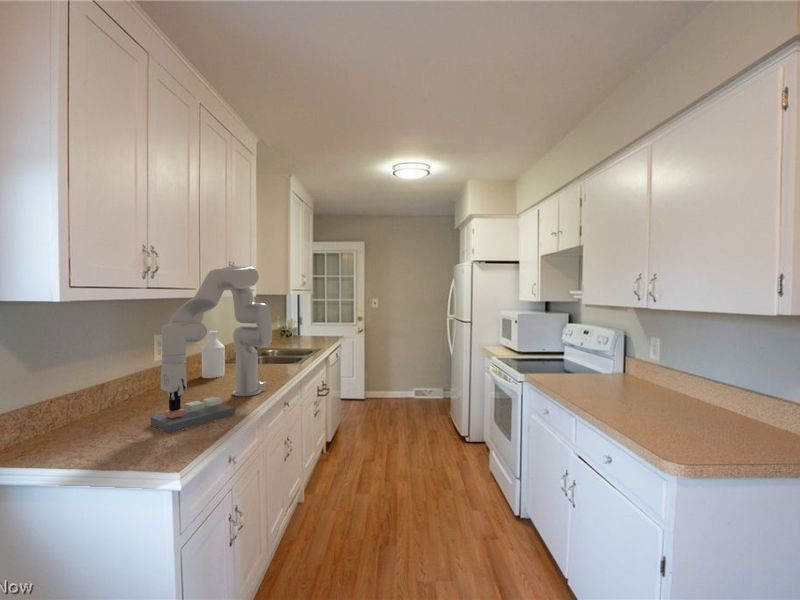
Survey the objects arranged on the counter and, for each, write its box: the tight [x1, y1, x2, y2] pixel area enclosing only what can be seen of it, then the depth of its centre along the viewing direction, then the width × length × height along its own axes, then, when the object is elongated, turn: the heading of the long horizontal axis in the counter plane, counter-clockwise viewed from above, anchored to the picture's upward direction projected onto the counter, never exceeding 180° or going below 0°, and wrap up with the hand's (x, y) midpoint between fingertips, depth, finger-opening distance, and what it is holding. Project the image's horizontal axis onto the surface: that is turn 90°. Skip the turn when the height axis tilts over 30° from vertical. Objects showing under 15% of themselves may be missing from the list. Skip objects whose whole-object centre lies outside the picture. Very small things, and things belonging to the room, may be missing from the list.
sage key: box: [183, 400, 204, 411], centre depth 147 cm, size 5×5×2 cm
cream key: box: [202, 396, 223, 406], centre depth 153 cm, size 5×5×2 cm
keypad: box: [150, 403, 236, 434], centre depth 148 cm, size 24×14×3 cm, turn 145°
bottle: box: [200, 330, 226, 379], centre depth 222 cm, size 12×12×25 cm
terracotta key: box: [163, 408, 185, 418], centre depth 142 cm, size 5×5×2 cm
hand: (174, 409), depth 142 cm, fingers closed
